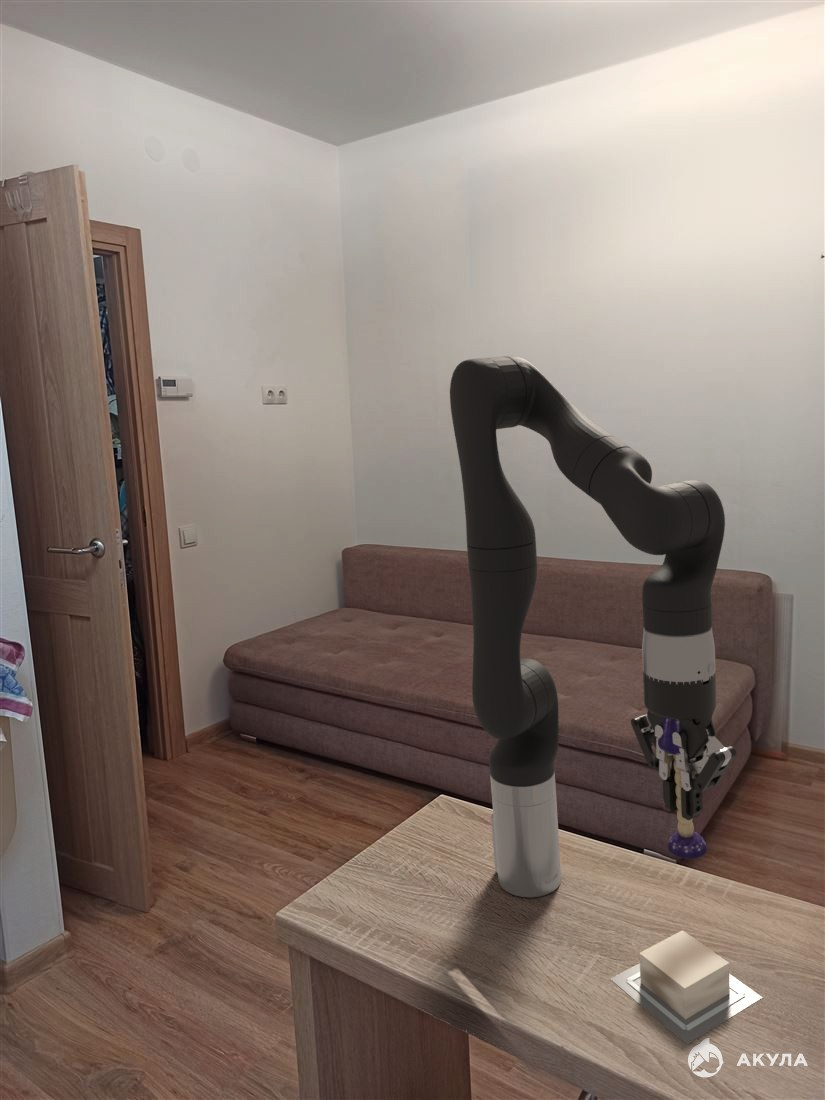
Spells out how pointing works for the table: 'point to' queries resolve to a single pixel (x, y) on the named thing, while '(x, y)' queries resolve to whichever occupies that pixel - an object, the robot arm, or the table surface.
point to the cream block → (684, 974)
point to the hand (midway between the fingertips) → (683, 812)
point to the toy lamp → (685, 838)
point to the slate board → (698, 1022)
